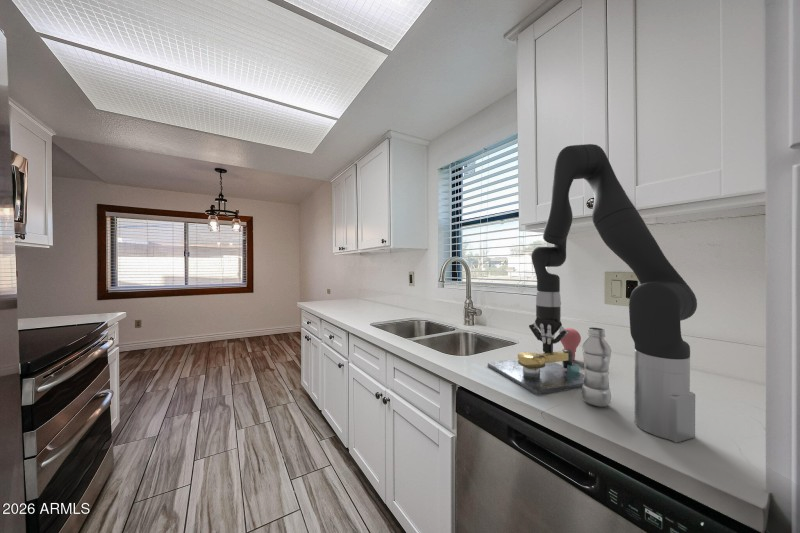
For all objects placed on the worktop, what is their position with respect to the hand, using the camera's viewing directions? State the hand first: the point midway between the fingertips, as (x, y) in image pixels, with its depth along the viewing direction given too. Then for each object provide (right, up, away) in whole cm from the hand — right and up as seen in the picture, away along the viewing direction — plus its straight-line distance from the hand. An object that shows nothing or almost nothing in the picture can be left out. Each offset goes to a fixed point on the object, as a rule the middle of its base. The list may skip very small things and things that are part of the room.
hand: (547, 353), depth 100 cm
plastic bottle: (+1, -6, -23) cm, 24 cm away
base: (-5, -6, -3) cm, 8 cm away
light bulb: (+14, -6, +11) cm, 19 cm away
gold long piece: (-4, -3, -6) cm, 8 cm away
